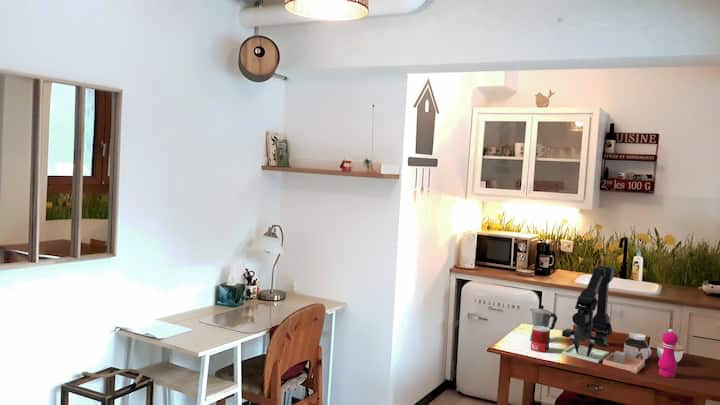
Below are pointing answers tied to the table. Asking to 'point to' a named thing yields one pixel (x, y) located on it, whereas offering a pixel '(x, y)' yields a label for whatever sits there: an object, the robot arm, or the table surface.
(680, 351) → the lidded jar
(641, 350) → the spread jar
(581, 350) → the grey cube
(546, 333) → the canned food
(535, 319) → the coffeepot
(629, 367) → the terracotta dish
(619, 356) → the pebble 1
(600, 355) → the green tray
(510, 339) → the table surface
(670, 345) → the pepper mill
